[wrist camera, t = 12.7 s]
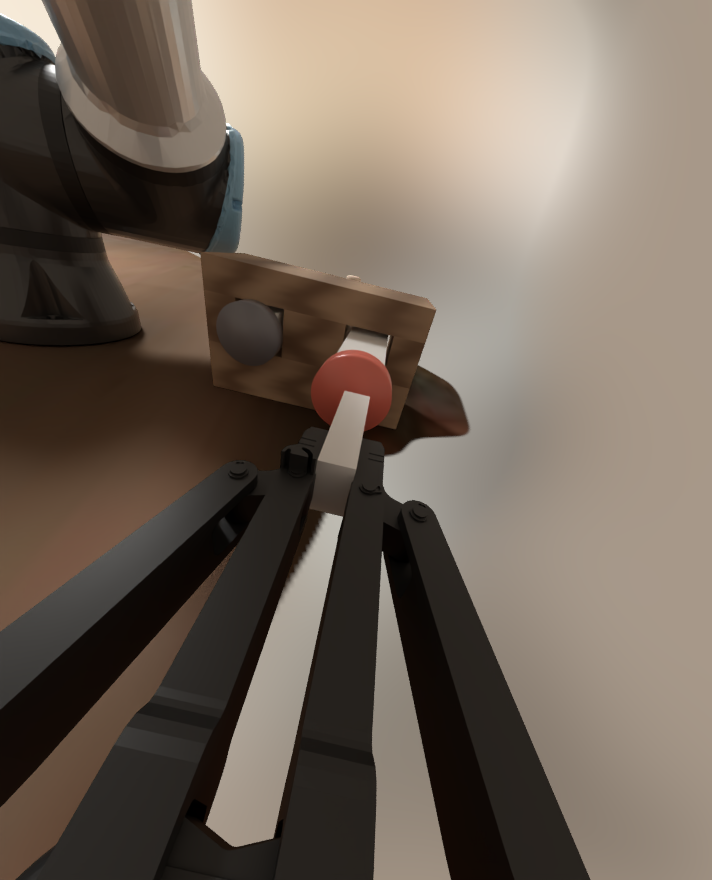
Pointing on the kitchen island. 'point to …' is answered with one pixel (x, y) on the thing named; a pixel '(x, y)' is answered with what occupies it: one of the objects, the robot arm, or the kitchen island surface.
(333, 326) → the walnut plug block
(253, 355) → the graphite plug
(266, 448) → the kitchen island surface
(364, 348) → the red plug
